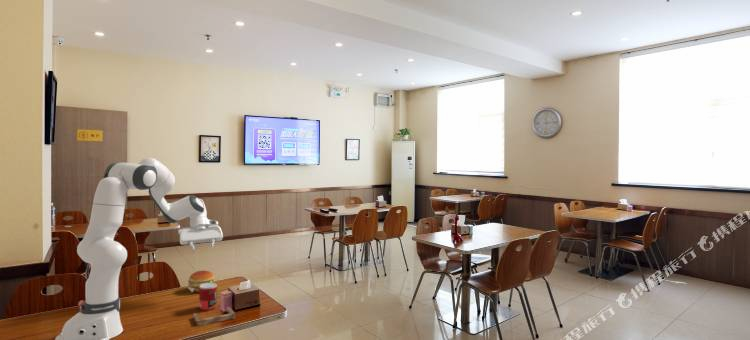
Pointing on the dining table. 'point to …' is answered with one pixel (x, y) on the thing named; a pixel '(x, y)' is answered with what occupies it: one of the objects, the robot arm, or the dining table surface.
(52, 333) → the dining table surface
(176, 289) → the dining table surface
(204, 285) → the canned food
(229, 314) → the tray
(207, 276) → the burger
